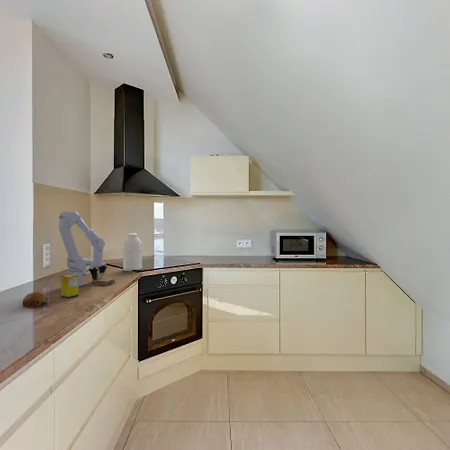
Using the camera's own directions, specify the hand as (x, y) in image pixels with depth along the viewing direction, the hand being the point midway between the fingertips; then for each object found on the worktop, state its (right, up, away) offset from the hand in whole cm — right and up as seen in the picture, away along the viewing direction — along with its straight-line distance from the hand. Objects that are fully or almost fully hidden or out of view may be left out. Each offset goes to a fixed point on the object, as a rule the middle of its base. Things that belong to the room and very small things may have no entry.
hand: (98, 278), depth 205 cm
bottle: (+9, -1, +44) cm, 45 cm away
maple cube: (0, -2, 0) cm, 2 cm away
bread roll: (-7, -4, -56) cm, 56 cm away
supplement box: (+1, -3, -39) cm, 39 cm away
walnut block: (+8, -2, -8) cm, 11 cm away
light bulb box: (-22, -1, +26) cm, 34 cm away
